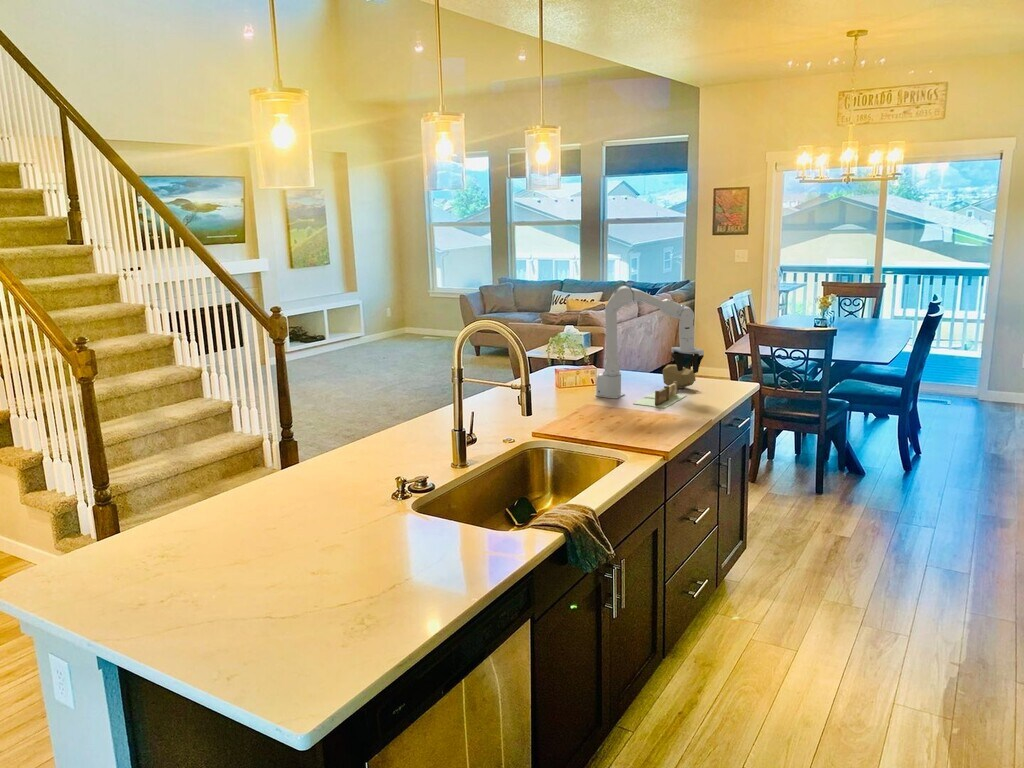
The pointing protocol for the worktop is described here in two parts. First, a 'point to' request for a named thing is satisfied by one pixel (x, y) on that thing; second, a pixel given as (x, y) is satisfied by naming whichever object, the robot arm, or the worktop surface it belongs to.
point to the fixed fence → (661, 395)
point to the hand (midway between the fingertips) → (687, 371)
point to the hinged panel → (673, 389)
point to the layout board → (651, 402)
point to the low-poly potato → (678, 376)
